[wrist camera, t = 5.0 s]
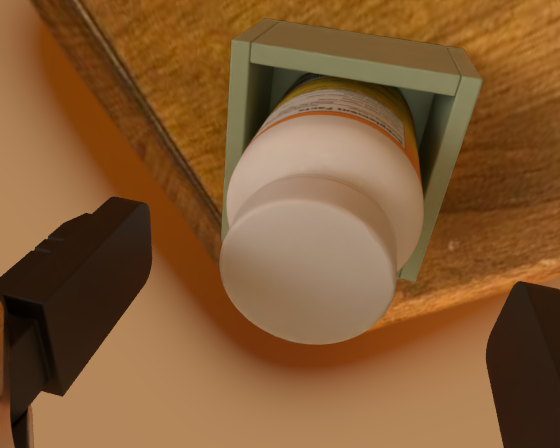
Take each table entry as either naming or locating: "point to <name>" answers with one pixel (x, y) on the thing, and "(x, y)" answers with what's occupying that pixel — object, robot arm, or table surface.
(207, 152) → the table surface
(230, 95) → the caddy
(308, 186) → the supplement bottle
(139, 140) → the table surface
